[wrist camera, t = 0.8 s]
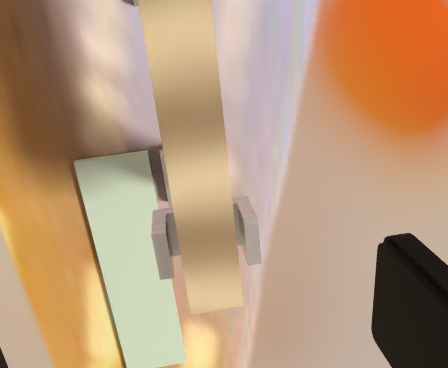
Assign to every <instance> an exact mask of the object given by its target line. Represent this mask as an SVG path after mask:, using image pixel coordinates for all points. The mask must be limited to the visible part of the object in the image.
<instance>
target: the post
mask: <svg viewBox="0 0 448 368" xmlns="http://www.w3.org/2000/svg"><path fill="white" fill-rule="evenodd" d="M159 152H160V158H161V164H162V169H163V175H164V181H165V187H166V193H167V198H168V204H169V207H170V206H173V205H172V200H171V194H170V188H169V182H168V176H167V170H166V164H165V158H164V152H163V148H160V150H159ZM232 203H233V212H234V221H235V231H236V240H237V246H238V245H241V246H242V249H243V252H244V255H245V258H246V261H247V264H248V265H253V264H259V263H261V253H260V241H259V229H258V218H257V216H256V214H255V212H254V210H253V208H252V205H251V203H250V201H249V199H248V197H247V196H244V197H237V198H232ZM151 237H152V242H153V247H154V252H155V257H156V262H157V267H158V272H159V277H160V280H164V279H170V278H174V269H173V256H177V255H181V253H180V247H179V241H178V235H177V229H176V223H175V217H174V211H173V207H172V208H165V209H159V210H153V213H152V230H151Z"/></svg>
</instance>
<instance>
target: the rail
mask: <svg viewBox="0 0 448 368" xmlns="http://www.w3.org/2000/svg"><path fill="white" fill-rule="evenodd" d="M138 4H139V10H140V16H141V22H142V28H143V34H144V40H145V46H146V52H147V58H148V64H149V69H150V75H151V81H152V87H153V93H154V99H155V105H156V111H157V117H158V123H159V129H160V135H161V140H162V146H163V152H164V158H165V164H166V170H167V176H168V182H169V188H170V194H171V200H172V205H173V211H174V217H175V223H176V229H177V235H178V241H179V247H180V253H181V259H182V265H183V270H184V276H185V282H186V288H187V294H188V300H189V306H190V312H191V314H197V313H202V312H208V311H214V310H219V309H225V308H231V307H236V306H242V305H243V296H242V287H241V277H240V268H239V259H238V249H237V240H236V231H235V221H234V212H233V203H232V193H231V184H230V175H229V165H228V156H227V146H226V137H225V128H224V118H223V109H222V100H221V90H220V81H219V72H218V62H217V53H216V44H215V34H214V25H213V15H212V6H211V0H138Z"/></svg>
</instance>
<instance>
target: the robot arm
mask: <svg viewBox="0 0 448 368" xmlns="http://www.w3.org/2000/svg"><path fill="white" fill-rule="evenodd" d="M372 334H373V338H374V340H375V342H376V344H377V345H378V347H379V348H380V350H381V352H382V353H383V355H384V356H385V358H386V359H387V361H388V362H389V364H390V365H391V367H392V368H448V265H447V264H445V263H444V262H443V261H442V260H441V259H440V258H439V257H438V256H436V255H435V254H434V253H433V252H432V251H431V250H429V248H427V247H426V246H425V245H424V244H423V243H422V242H421V241H420V240H418V239H417V238H416V237H415V236H414V235H412V234H411V233H406V234H399V235H393V236H387V237H385V239H384V242H383V243H380V244H379V245H378V250H377V262H376V275H375V288H374V301H373V314H372ZM0 368H8V366H7V363H6V361H5V358H4V356H3V353H2V351H1V348H0Z"/></svg>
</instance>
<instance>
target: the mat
mask: <svg viewBox="0 0 448 368" xmlns="http://www.w3.org/2000/svg"><path fill="white" fill-rule="evenodd" d="M73 163H74V167H75V171H76V174H77V178H78V182H79V186H80V190H81V194H82V197H83V201H84V205H85V209H86V213H87V217H88V221H89V224H90V228H91V232H92V236H93V240H94V244H95V247H96V251H97V255H98V259H99V263H100V267H101V271H102V274H103V278H104V282H105V286H106V290H107V294H108V297H109V301H110V305H111V309H112V313H113V317H114V321H115V324H116V328H117V332H118V336H119V340H120V344H121V347H122V351H123V355H124V359H125V363H126V367H127V368H158V367H163V366H168V365H174V364H179V363H185V362H186V355H185V350H184V344H183V339H182V334H181V328H180V323H179V317H178V312H177V306H176V301H175V296H174V290H173V285H172V279H171V278H170V279H164V280H160V277H159V272H158V267H157V262H156V257H155V252H154V247H153V242H152V237H151V230H152V213H153V210H159V209H158V203H157V198H156V193H155V187H154V182H153V176H152V171H151V165H150V160H149V155H148V150H144V151H137V152H129V153H122V154H115V155H108V156H101V157H94V158H87V159H79V160H75V161H74V162H73Z"/></svg>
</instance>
